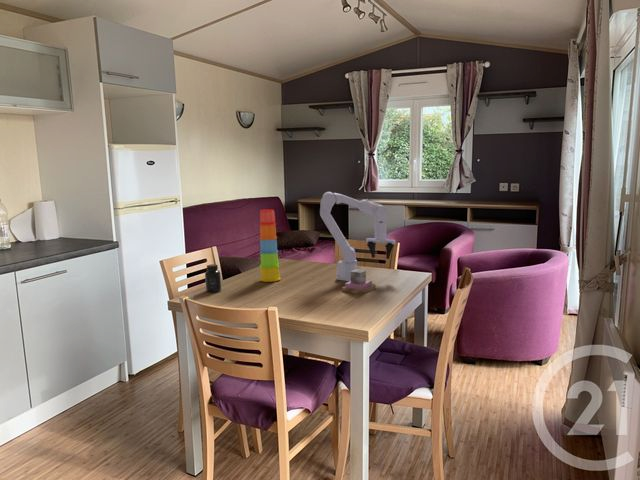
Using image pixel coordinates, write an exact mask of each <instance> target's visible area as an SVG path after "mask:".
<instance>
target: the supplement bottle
mask: <svg viewBox="0 0 640 480" xmlns="http://www.w3.org/2000/svg"><path fill="white" fill-rule="evenodd" d="M206 270H207V271H206V272H205V273H204V275H205V276H204V280H205V281H204V282H205V291H206V292H207V293H211V294H212V293H213V294H215V293H219V292H221V290H222V279H221V276H222V275H221V272H220V270H219V268H218V264H215V263H214V264H208V265H207V264H206Z"/></svg>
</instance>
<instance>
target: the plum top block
mask: <svg viewBox="0 0 640 480" xmlns="http://www.w3.org/2000/svg"><path fill="white" fill-rule="evenodd" d="M372 284H373V280H368V279H366V282H364V283H361V284H358V283H351V281H346V282H345V284H344V286H345V288H350V289H356V290H363V289H365V288H367V287H369V286H371V285H372Z"/></svg>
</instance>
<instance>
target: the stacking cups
mask: <svg viewBox="0 0 640 480" xmlns="http://www.w3.org/2000/svg"><path fill="white" fill-rule="evenodd" d="M275 215H276V214H275V211H274V209H260V211H259V220H260V223H259V233H260V234H259V235H260V236H259V242H260V243H259V245H260V246H259V247H260V251H259V254H260V264H259V267H260V275H261V277H260V278H259V280H260V282H263V283H264V282H265V283H268V282H271V283H273V282H277V281H278V282H279V281H280V280H281V279H282V277H280V263H279V256H278V255H279V254H278V253H279V250H278V242H277V239H278V236H277V230H276V225H277V223H276V216H275Z"/></svg>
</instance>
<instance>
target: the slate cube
mask: <svg viewBox="0 0 640 480" xmlns="http://www.w3.org/2000/svg"><path fill="white" fill-rule="evenodd" d="M366 280H367V270H363V269H358V268H357V269H356V270H353V271H351V283H358V284H361V283H364V282H366Z"/></svg>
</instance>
